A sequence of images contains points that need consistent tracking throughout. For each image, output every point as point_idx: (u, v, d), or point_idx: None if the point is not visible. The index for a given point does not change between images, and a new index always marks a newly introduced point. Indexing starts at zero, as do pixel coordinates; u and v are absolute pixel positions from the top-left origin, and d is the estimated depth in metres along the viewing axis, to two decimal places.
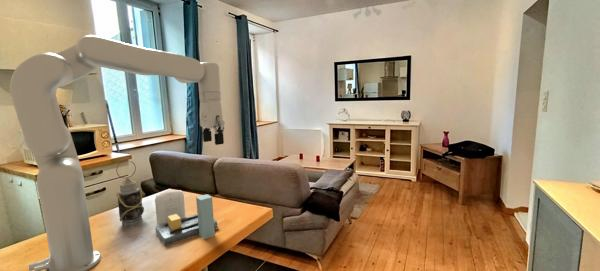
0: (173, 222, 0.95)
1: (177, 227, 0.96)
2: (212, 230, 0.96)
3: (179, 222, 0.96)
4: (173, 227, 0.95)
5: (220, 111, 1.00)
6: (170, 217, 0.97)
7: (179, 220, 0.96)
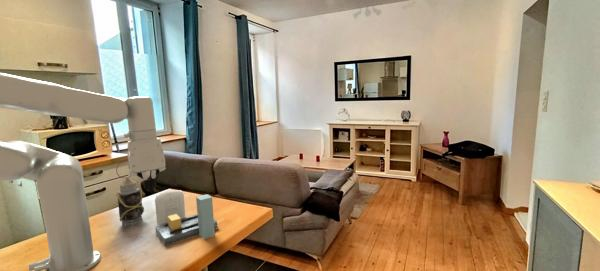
0: (173, 222, 0.95)
1: (177, 227, 0.96)
2: (212, 230, 0.96)
3: (179, 222, 0.96)
4: (173, 227, 0.95)
5: None
6: (170, 217, 0.97)
7: (179, 220, 0.96)
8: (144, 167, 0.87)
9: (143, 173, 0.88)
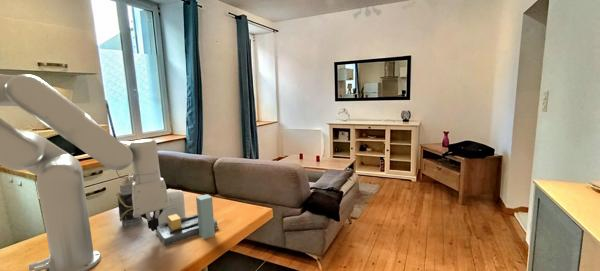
0: (173, 222, 0.95)
1: (177, 227, 0.96)
2: (212, 230, 0.96)
3: (179, 222, 0.96)
4: (173, 227, 0.95)
5: None
6: (170, 217, 0.97)
7: (179, 220, 0.96)
8: (148, 208, 0.89)
9: (147, 214, 0.90)
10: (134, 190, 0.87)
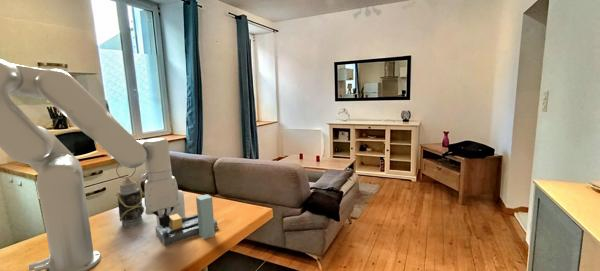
0: (174, 222, 0.95)
1: (178, 227, 0.96)
2: (212, 230, 0.96)
3: (180, 222, 0.96)
4: (174, 227, 0.95)
5: None
6: (171, 217, 0.97)
7: (180, 220, 0.96)
8: (160, 206, 0.91)
9: (159, 211, 0.93)
10: (147, 188, 0.89)
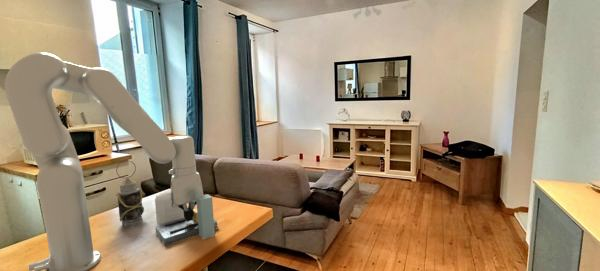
0: None
1: None
2: (212, 230, 0.96)
3: None
4: None
5: None
6: (194, 210, 1.02)
7: None
8: (185, 200, 0.96)
9: (184, 205, 0.98)
10: (174, 182, 0.94)
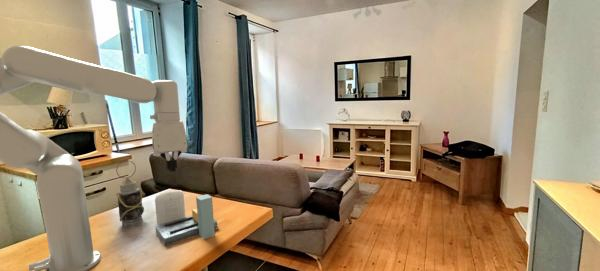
0: None
1: None
2: (212, 230, 0.96)
3: None
4: None
5: None
6: (195, 210, 1.03)
7: None
8: (168, 148, 0.91)
9: (166, 154, 0.92)
10: (155, 128, 0.89)
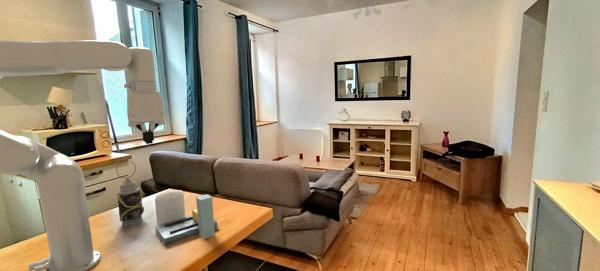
0: None
1: None
2: (212, 230, 0.96)
3: None
4: None
5: None
6: (195, 210, 1.03)
7: None
8: (143, 118, 0.88)
9: (142, 125, 0.89)
10: (129, 97, 0.86)
